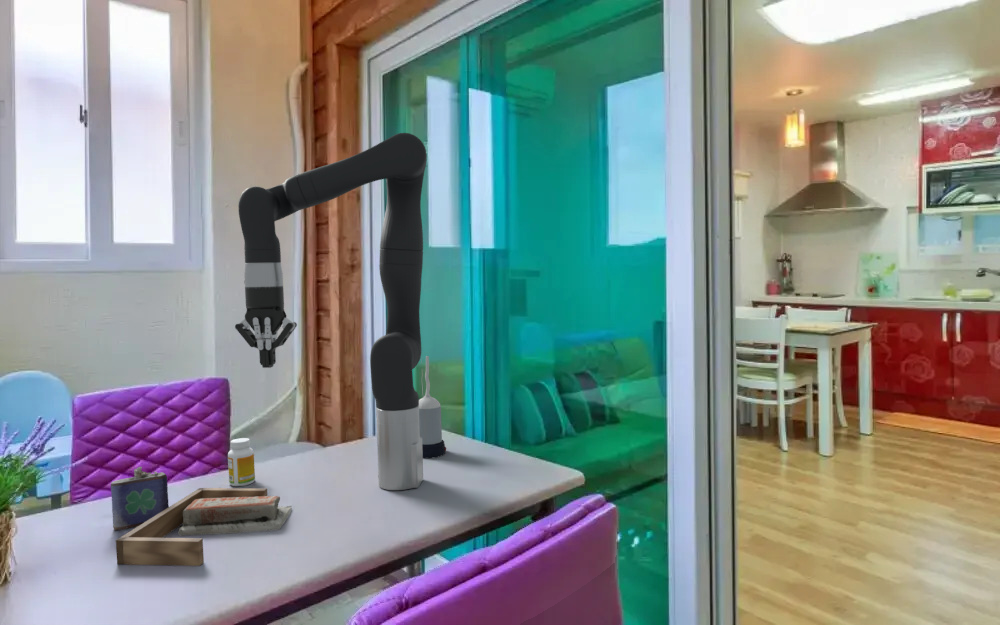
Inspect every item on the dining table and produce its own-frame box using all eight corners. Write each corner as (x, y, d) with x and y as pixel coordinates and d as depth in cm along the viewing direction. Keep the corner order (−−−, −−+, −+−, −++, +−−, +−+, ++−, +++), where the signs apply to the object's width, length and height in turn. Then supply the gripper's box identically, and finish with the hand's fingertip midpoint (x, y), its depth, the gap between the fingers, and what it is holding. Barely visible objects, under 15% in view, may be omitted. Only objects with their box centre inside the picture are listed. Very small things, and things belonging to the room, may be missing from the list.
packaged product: (175, 512, 112) (196, 492, 122) (176, 538, 112) (197, 517, 122) (279, 506, 114) (291, 487, 124) (280, 532, 114) (292, 511, 124)
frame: (267, 508, 125) (266, 488, 125) (199, 565, 101) (198, 541, 100) (200, 507, 126) (199, 488, 126) (117, 564, 102) (115, 540, 102)
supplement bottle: (259, 478, 143) (257, 437, 142) (247, 487, 138) (245, 443, 137) (237, 478, 144) (234, 436, 143) (224, 486, 138) (222, 443, 138)
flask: (113, 531, 115) (109, 474, 114) (113, 526, 117) (110, 470, 117) (169, 520, 120) (167, 465, 119) (169, 515, 122) (166, 461, 122)
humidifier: (451, 452, 161) (449, 355, 159) (427, 460, 155) (425, 359, 153) (430, 447, 166) (427, 353, 165) (406, 454, 160) (403, 357, 158)
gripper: (302, 283, 134) (305, 364, 135) (242, 285, 135) (246, 364, 136) (287, 284, 127) (291, 369, 128) (224, 286, 128) (228, 370, 129)
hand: (267, 367), depth 132 cm, fingers closed
